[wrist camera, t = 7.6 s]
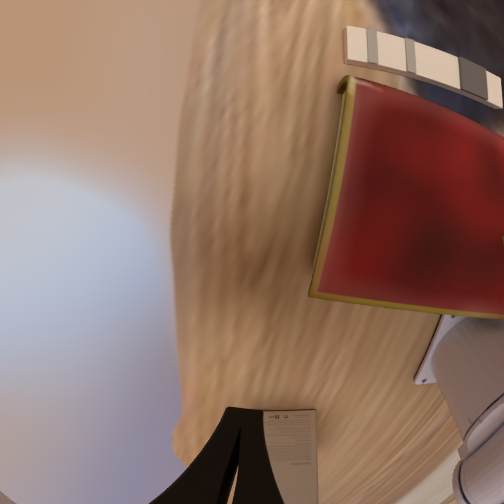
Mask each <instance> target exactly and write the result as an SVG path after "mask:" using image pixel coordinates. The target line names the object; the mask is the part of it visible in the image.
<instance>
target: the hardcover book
mask: <svg viewBox="0 0 504 504" xmlns="http://www.w3.org/2000/svg"><path fill="white" fill-rule="evenodd" d="M337 93H339V94H343V98H342V105H341V113H340V120H339V127H338V134H337V141H336V147H335V153H334V159H333V165H332V171H331V177H330V183H329V188H328V194H327V199H326V204H325V209H324V214H323V219H322V224H321V229H320V234H319V239H318V243H317V248H316V252H315V257H314V261H313V266H312V267H313V276H312V280H311V284H310V288H309V292H308V296H309V297H313V298H319V299H326V300H333V301H340V302H347V303H354V304H361V305H369V306H377V307H384V308H392V309H401V310H409V311H418V312H427V313H436V314H446V315H456V316H466V317H477V318H489V319H502V320H504V137H502V136H500V135H498V134H497V133H495V132H493V131H491V130H490V129H488V128H486V127H484V126H482V125H480V124H478V123H476V122H475V121H473V120H471V119H469V118H467V117H464V116H462V115H460V114H458V113H456V112H454V111H452V110H449V109H447V108H445V107H443V106H440V105H438V104H435V103H433V102H431V101H428V100H426V99H423V98H420V97H418V96H415V95H412V94H410V93H407V92H404V91H401V90H398V89H395V88H392V87H389V86H386V85H382V84H379V83H376V82H372V81H369V80H365V79H361V78H358V77H354V76H350V75H347V76H345V77H344V78H343V79H342V80H341V81H340V83H339V85H338V87H337Z"/></svg>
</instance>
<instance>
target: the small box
mask: <svg viewBox="0 0 504 504" xmlns="http://www.w3.org/2000/svg"><path fill="white" fill-rule="evenodd" d="M263 412H264V416H263V423H264V434H265V441H266V446H267V451H268V455H269V460H270V464H271V467H272V471H273V474H274V477H275V480H276V483H277V486H278V489H279V491H280V494H281V496H282V499H283V501H284V503H285V504H318V461H317V422H316V410H302V411H263Z"/></svg>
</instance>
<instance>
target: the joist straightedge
mask: <svg viewBox="0 0 504 504" xmlns="http://www.w3.org/2000/svg"><path fill="white" fill-rule="evenodd" d="M344 64H350V65H356V66H361V67H367V68H372V69H377V70H381V71H386V72H390V73H394V74H398V75H402V76H406V77H409V78H413V79H417V80H420V81H423V82H427V83H430V84H433V85H436V86H439V87H442V88H445V89H448V90H450V91H453V92H456V93H458V94H461V95H464V96H466V97H469V98H471V99H473V100H476V101H478V102H480V103H483V104H485V105H487V106H489V107H492V108H494V109H500V108H502V90H501V79H500V78H499V77H497V76H495V75H493V74H492V73H490V72H488V71H486V69H485V68H483V67H481V66H479V65H477V64H475V63H473V62H471V61H469V60H466V59H464V58H462V57H455V56H453V55H450V54H448V53H445V52H443V51H440V50H437V49H435V48H432V47H429V46H426V45H423V44H420V43H417V42H414V40H412V39H408V38H405V39H404V38H400V37H397V36H393V35H389V34H385V33H381V32H377V30H374V29H369V28H367V29H363V28H358V27H352V26H346V28H345V30H344Z"/></svg>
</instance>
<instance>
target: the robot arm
mask: <svg viewBox="0 0 504 504" xmlns="http://www.w3.org/2000/svg"><path fill="white" fill-rule="evenodd" d="M414 382H415V384H417V385H419V384H428V383H438V385H439V387H440V389H441V391H442V393H443V395H444V398H445V400H446V402H447V404H448V406H449V409H450V411H451V413H452V415H453V418H454V420H455V422H456V425H457V427H458V429H459V432H460V434H461V437H462V439H463V442H464V443H463V444H462V445H461V446H460V447H459V448H458V453H459V455H460V458H461V460H460V461H459V462H458V463H457V465H456V467H455V469H454V473H453V479H452V484H453V492H454V496H455V499H456V501H457V503H458V504H504V320H502V319H489V318H477V317H466V316H456V315H446V314H442V317H441V320H440V322H439V325H438V327H437V330H436V332H435V335H434V337H433V340H432V342H431V344H430V347H429V349H428V351H427V354H426V356H425V358H424V360H423V362H422V364H421V367H420V369H419V371H418V373H417V375H416V377H415V379H414ZM263 416H264V412H263V411H261V410H254V409H245V408H236V407H227V408H226V409H225V412H224V414H223V416H222V418H221V420H220V422H219V424H218V426H217V428H216V429H215V431H214V433H213V434H212V436H211V437H210V439H209V440H208V442H207V443H206V445H205V446H204V448H203V449H202V451H201V452H200V453H199V454H198V456H197V457H196V458H195V459H194V461H193V462H192V463H191V464H190V466H189V467H188V468H187V469H186V470H185V471H184V472H183V474H182V475H181V476H180V477H179V478H178V479H177V480H176V481H175V482H174V483H173V484H172V485H171V486H169V487H168V488H167V489H166V490H165V491H164V492H163V493H162V494H160V495H159V496H158V497H157V498H155V499H154V500H153V501H152V502H150V503H149V504H227V502H228V498H229V495H230V491H231V488H232V485H233V481H234V478H235V474H236V471H237V467H238V475H237V482H236V487H235V492H234V497H233V502H232V504H285V503H284V501H283V499H282V496H281V494H280V491H279V489H278V486H277V483H276V480H275V477H274V474H273V471H272V467H271V464H270V460H269V455H268V451H267V446H266V441H265V434H264V423H263ZM0 504H16V503H15V502H13V501H12V500H10V499H9V498H8V497H7V496H6V495H4V494H3V493H2V492H1V491H0Z"/></svg>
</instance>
